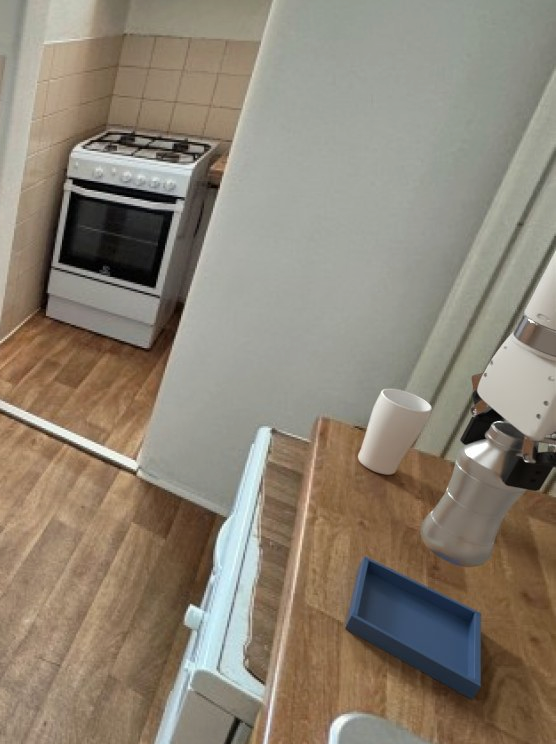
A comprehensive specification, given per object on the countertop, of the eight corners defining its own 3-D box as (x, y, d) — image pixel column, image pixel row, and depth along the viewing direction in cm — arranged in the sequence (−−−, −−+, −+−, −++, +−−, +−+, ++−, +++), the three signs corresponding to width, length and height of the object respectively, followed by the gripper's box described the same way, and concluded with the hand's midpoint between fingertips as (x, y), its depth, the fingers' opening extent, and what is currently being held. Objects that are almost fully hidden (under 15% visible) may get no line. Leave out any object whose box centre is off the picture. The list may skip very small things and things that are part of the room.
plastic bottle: (488, 558, 78) (559, 435, 71) (476, 584, 75) (549, 458, 68) (421, 524, 83) (482, 406, 76) (407, 547, 80) (469, 426, 72)
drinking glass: (342, 452, 114) (370, 387, 109) (378, 453, 114) (408, 388, 109) (372, 478, 108) (404, 411, 103) (410, 480, 108) (444, 412, 102)
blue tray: (358, 567, 91) (364, 555, 90) (473, 625, 83) (481, 612, 82) (344, 628, 82) (351, 615, 81) (472, 700, 74) (480, 686, 73)
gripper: (691, 392, 58) (599, 528, 65) (546, 309, 74) (484, 426, 80) (590, 378, 60) (511, 511, 67) (470, 300, 76) (415, 415, 82)
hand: (497, 464), depth 73 cm, fingers closed on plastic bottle, 6 cm apart
